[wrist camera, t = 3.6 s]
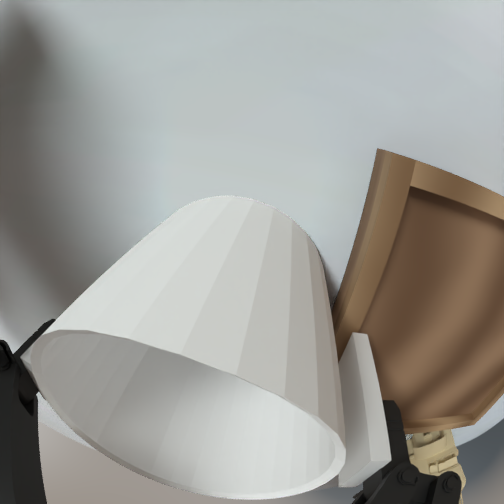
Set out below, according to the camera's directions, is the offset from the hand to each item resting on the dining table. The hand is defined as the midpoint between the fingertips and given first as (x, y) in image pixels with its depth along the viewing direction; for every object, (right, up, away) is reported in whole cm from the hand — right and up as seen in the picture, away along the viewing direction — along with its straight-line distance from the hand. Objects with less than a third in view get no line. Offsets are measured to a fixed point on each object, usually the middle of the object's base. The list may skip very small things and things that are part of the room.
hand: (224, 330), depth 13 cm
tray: (+14, -2, +1) cm, 14 cm away
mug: (0, +1, +2) cm, 2 cm away
